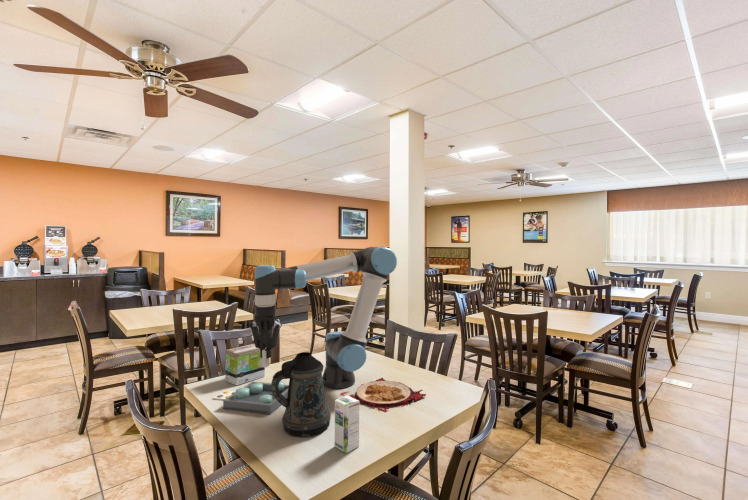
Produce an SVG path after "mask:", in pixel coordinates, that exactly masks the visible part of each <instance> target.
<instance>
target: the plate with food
mask: <svg viewBox="0 0 748 500" xmlns="http://www.w3.org/2000/svg"><path fill="white" fill-rule="evenodd" d="M422 391H424V390H423V389H420V390H416V391H414V390H413V389H412V388H411V387H410V386H407V385H406V384H405V383H402V382H401V381H400V382H399V381H394V380H386V379H385V378H383V377H380V378H378V379H377V378H376V380H372V381H370V382H367V383H363V384H360V386H358V387H357V388H356V392H355V393H352V394H350V395H349V394H348V393H350V391H348V390H347V391H343V392H341V393H340V395H341V396H342V397H344V396H347V394H348V396H350V397H352V398H354V399H356V400H359V405H360V404H361V405H363V404H365V405H368V406H371V407H370V408H369V410H371V409H373V410H375V408H376V407H377V411H378V412H380V411H382V412H383V413H385V414H386V413H387V412H388V411H389V409H390V408H392V407H393V408H394V407H396V406H398V407H400V408H403V407H405V406H408V405H409V401H410V402H413V401H414V402H417V401H419V400H421V399H422V398H423V397H426V396H427V393H421V392H422ZM356 397H357V398H356ZM374 407H375V408H374Z"/></svg>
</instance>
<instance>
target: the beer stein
mask: <svg viewBox="0 0 748 500" xmlns="http://www.w3.org/2000/svg"><path fill="white" fill-rule="evenodd" d="M280 368H281V369H280V370H279V371H277V372H275V373H274V374H273V375H272V378H271V379H272V380H271V382H270V383H271V390H272V393H273V395H274V397H275V398H276V400H277V401H278V402H279V403H280V404H281V406H282V407H284V408H285V410H284V413H283V416H282V419H281V420H282V421H281V422H282V425H283V430H284V432H285V433H286V434H287V435H290V436H291V437H296V438H310V437H311V438H312V437H315V436H318V435H320V434H323V433H324V432H326V430H329V427H330V423H331V417H332V416H331V414H332V413H331V411H330V408H329V405H328V401H327V399H326V392H325V391H326V390H325V386H324V385H323V379H322V376H323V373H324V368H325V367H324V364H323V363H322V361H320V360H319V359H318V358H316V357H314V356H313V355H312V353H311V352H308V351H303V352H299V353H297V354H296V356H295V357H294V358H293V359H291V360H287V361H285V362H283V363H282V365H281V367H280ZM283 380H288V385H289V387H288V395H287V398H285V397H284V396H283V395H282V394H281V392H280V390H279V388H278V385H279V383H280V381H283Z"/></svg>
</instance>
